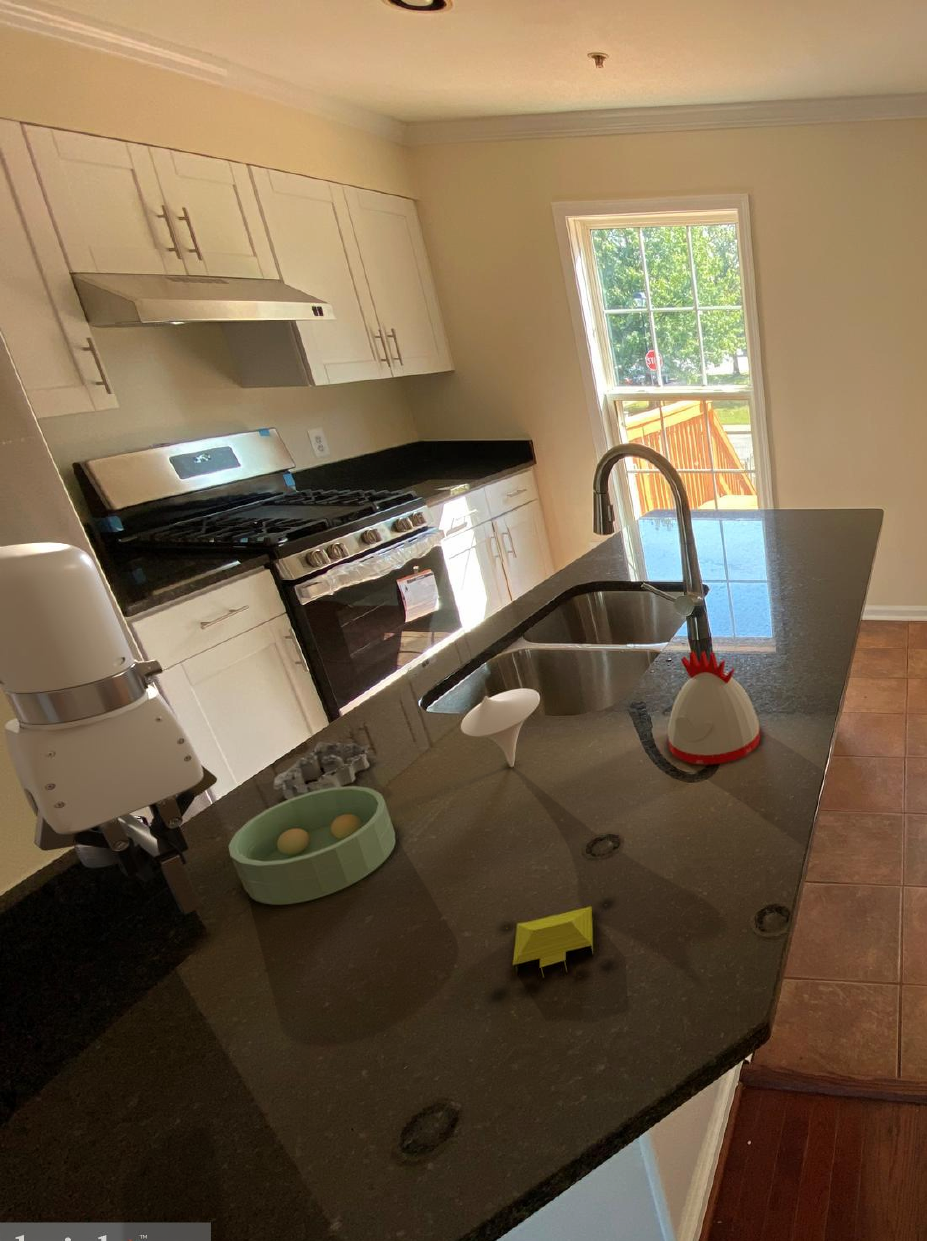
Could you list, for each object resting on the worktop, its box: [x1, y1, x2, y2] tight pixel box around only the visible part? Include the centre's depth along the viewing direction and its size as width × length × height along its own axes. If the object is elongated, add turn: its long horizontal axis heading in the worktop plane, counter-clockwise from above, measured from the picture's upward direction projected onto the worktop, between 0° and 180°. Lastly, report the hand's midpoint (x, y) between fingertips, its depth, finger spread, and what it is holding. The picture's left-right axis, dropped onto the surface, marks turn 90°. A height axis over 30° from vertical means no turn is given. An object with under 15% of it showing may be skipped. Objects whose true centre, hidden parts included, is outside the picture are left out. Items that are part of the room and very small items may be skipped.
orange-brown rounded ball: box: [277, 828, 310, 855], centre depth 82 cm, size 3×3×3 cm
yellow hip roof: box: [497, 903, 608, 998], centre depth 70 cm, size 10×9×3 cm
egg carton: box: [273, 741, 370, 800], centre depth 96 cm, size 11×8×4 cm
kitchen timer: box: [667, 650, 761, 766], centre depth 105 cm, size 14×14×15 cm
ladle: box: [73, 813, 202, 915], centre depth 67 cm, size 19×5×7 cm, turn 62°
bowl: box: [228, 785, 397, 906], centre depth 81 cm, size 14×14×6 cm
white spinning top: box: [460, 688, 541, 768], centre depth 99 cm, size 10×11×12 cm
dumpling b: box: [331, 814, 361, 839], centre depth 85 cm, size 3×3×3 cm
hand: (159, 867), depth 65 cm, fingers closed on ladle
